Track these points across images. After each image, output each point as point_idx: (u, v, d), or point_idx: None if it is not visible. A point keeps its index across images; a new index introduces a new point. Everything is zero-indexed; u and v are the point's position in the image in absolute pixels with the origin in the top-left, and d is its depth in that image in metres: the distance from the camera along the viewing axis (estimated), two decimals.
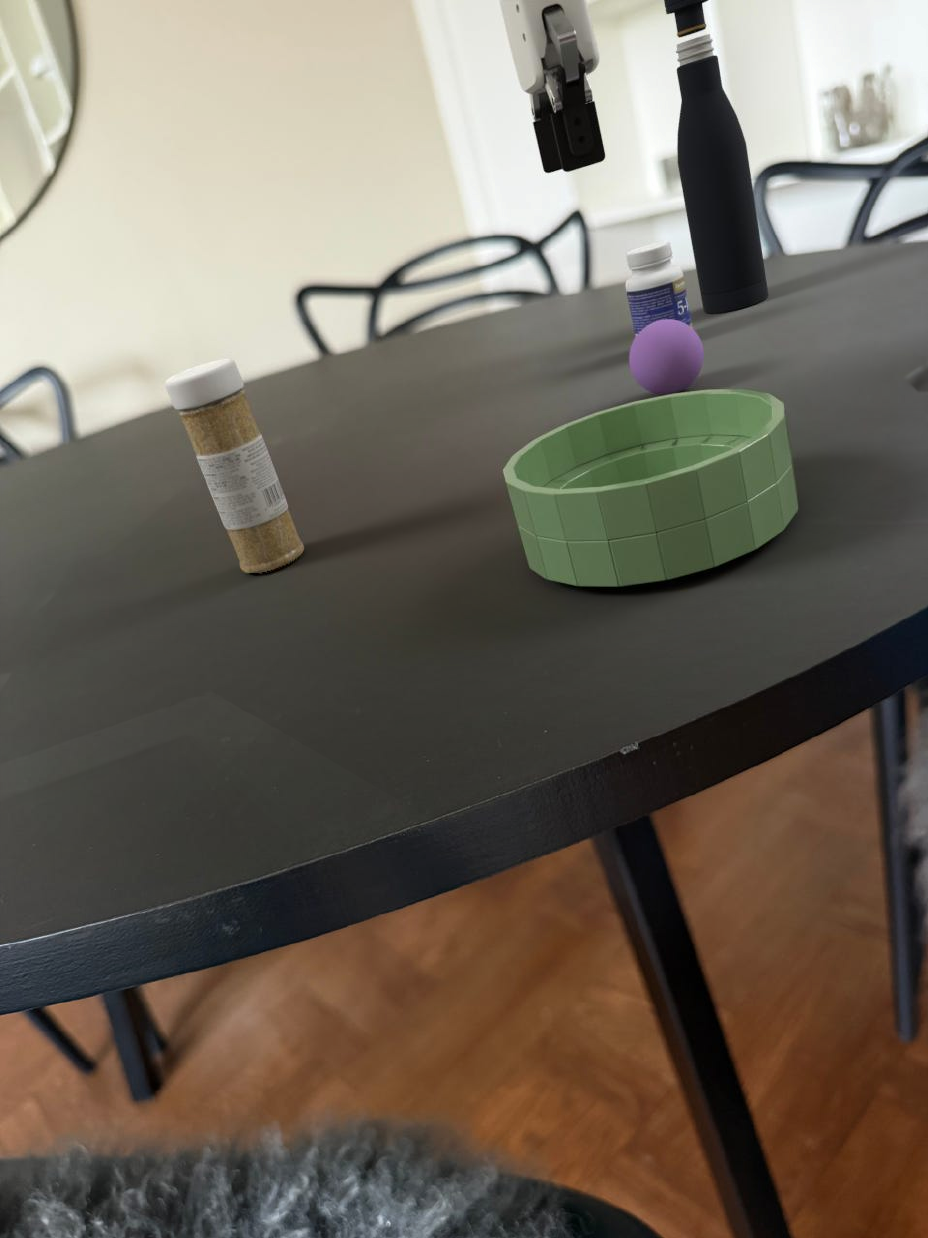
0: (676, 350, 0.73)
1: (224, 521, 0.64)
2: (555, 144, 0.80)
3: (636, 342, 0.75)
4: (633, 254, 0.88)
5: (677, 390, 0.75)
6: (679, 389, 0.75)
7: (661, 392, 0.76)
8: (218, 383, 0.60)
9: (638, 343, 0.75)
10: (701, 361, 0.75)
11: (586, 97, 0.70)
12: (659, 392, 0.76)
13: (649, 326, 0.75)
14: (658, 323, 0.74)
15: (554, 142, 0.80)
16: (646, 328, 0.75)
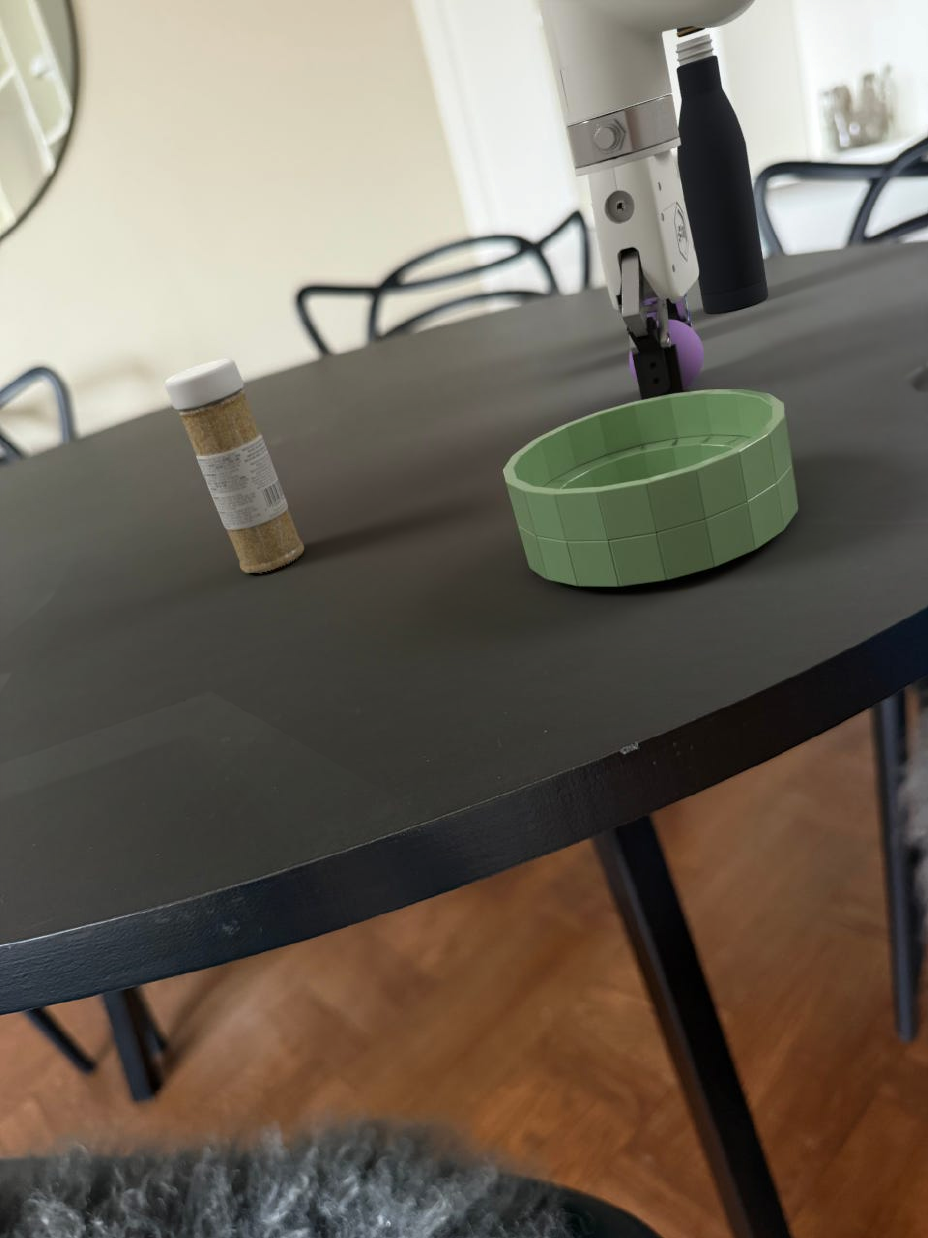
0: None
1: (224, 521, 0.64)
2: None
3: None
4: None
5: None
6: None
7: None
8: (218, 383, 0.60)
9: None
10: (701, 361, 0.75)
11: (663, 347, 0.71)
12: None
13: None
14: None
15: None
16: None
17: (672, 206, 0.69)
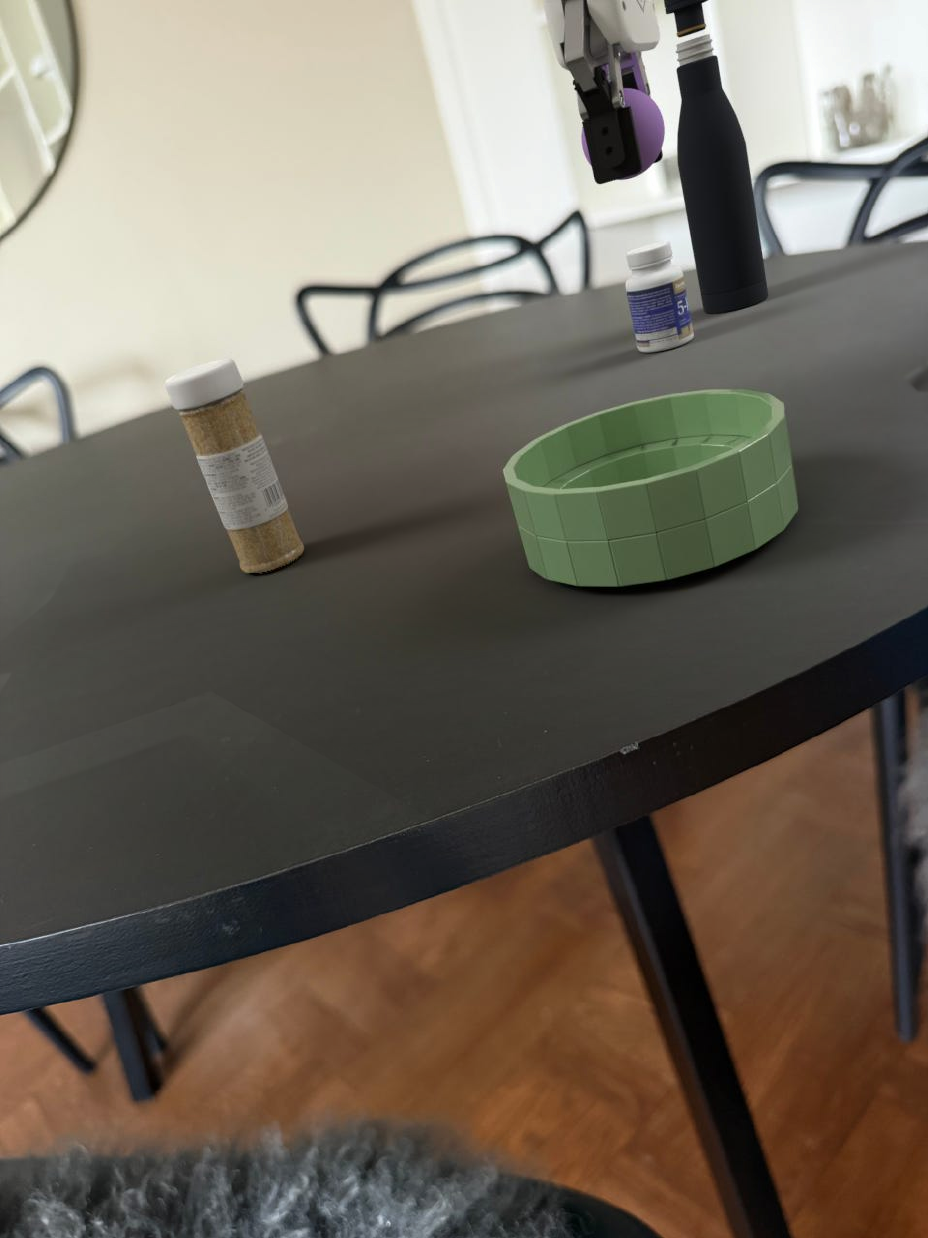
0: None
1: (224, 521, 0.64)
2: None
3: None
4: (633, 254, 0.88)
5: None
6: None
7: None
8: (218, 383, 0.60)
9: None
10: (661, 134, 0.66)
11: (615, 107, 0.63)
12: None
13: None
14: None
15: None
16: None
17: None
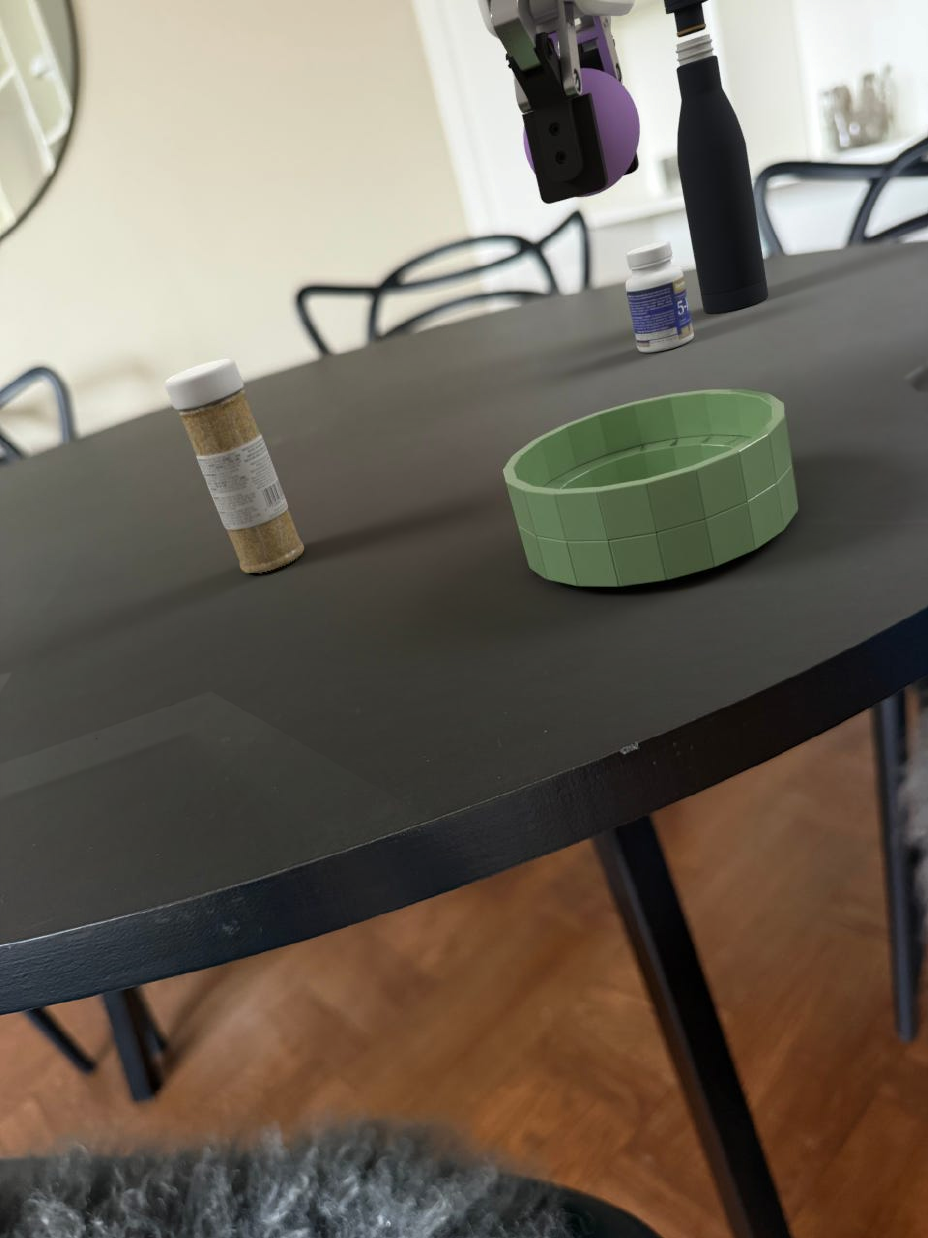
0: None
1: (224, 521, 0.64)
2: None
3: None
4: (633, 254, 0.88)
5: None
6: None
7: None
8: (218, 383, 0.60)
9: None
10: (635, 135, 0.47)
11: (568, 94, 0.43)
12: None
13: None
14: None
15: None
16: None
17: None
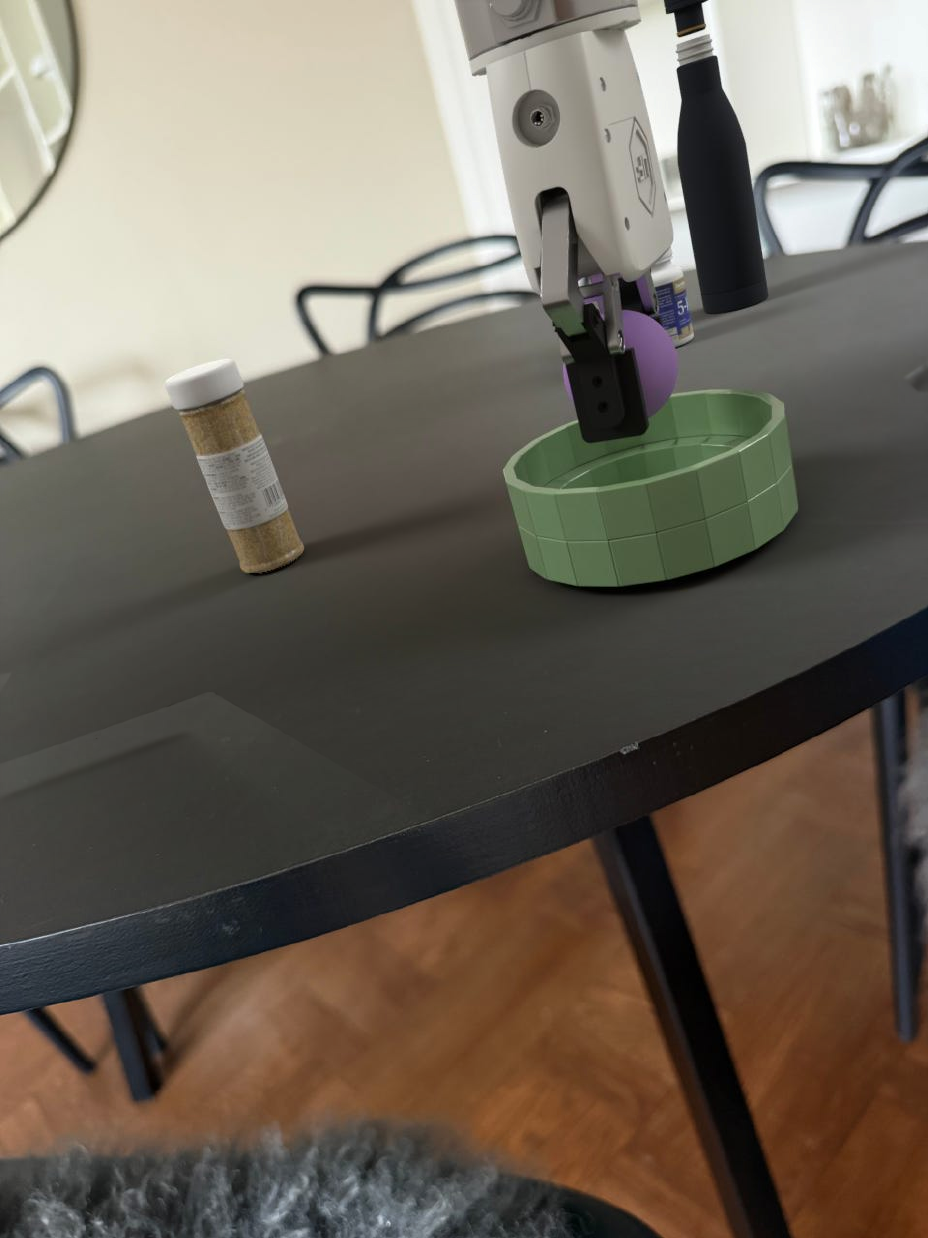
0: None
1: (224, 521, 0.64)
2: None
3: None
4: None
5: None
6: None
7: None
8: (218, 383, 0.60)
9: None
10: (674, 376, 0.48)
11: (612, 353, 0.44)
12: None
13: None
14: None
15: None
16: None
17: (626, 122, 0.42)
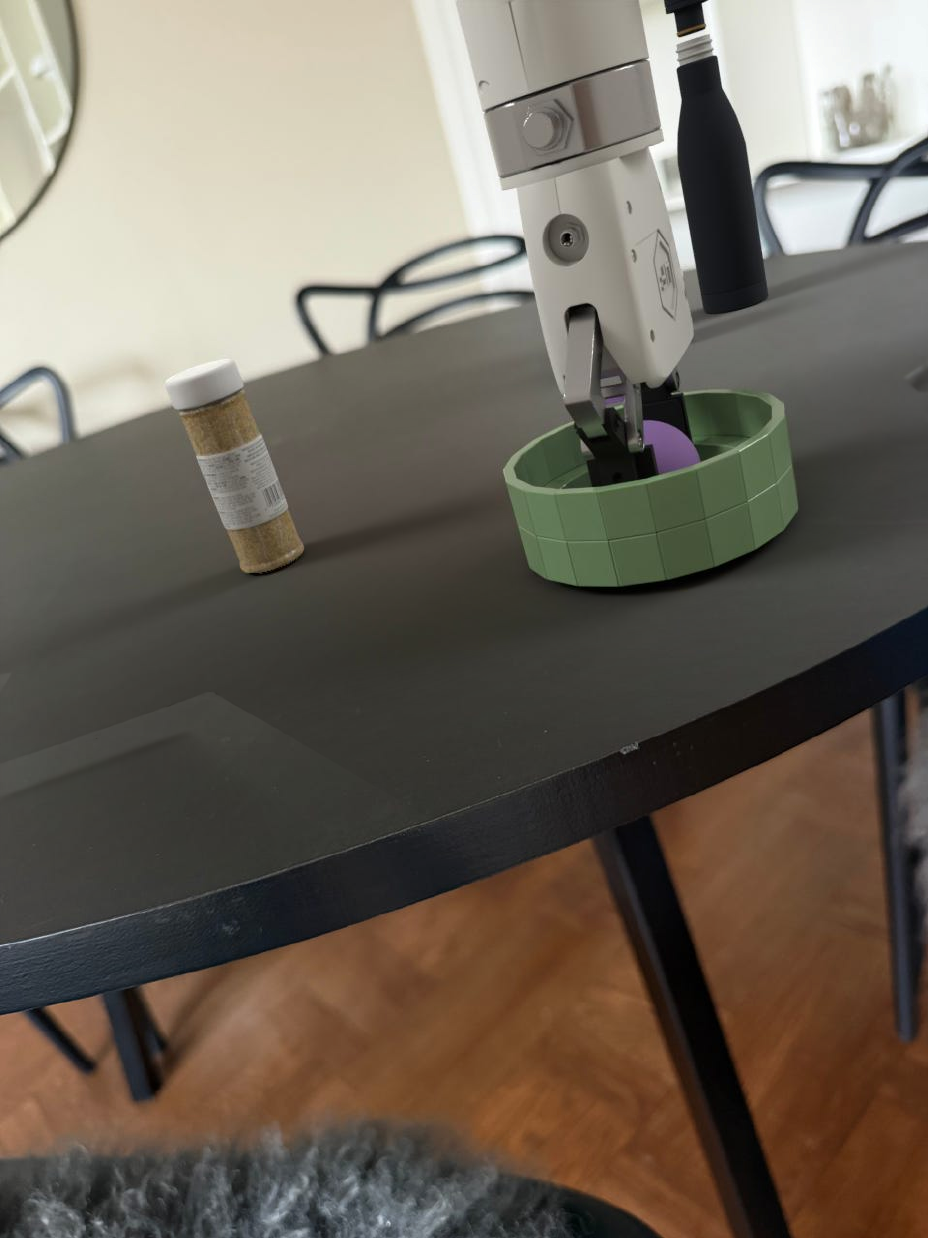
0: (659, 471, 0.48)
1: (224, 521, 0.64)
2: None
3: None
4: None
5: None
6: None
7: None
8: (218, 383, 0.60)
9: None
10: None
11: (631, 451, 0.45)
12: None
13: None
14: None
15: None
16: None
17: (650, 237, 0.44)
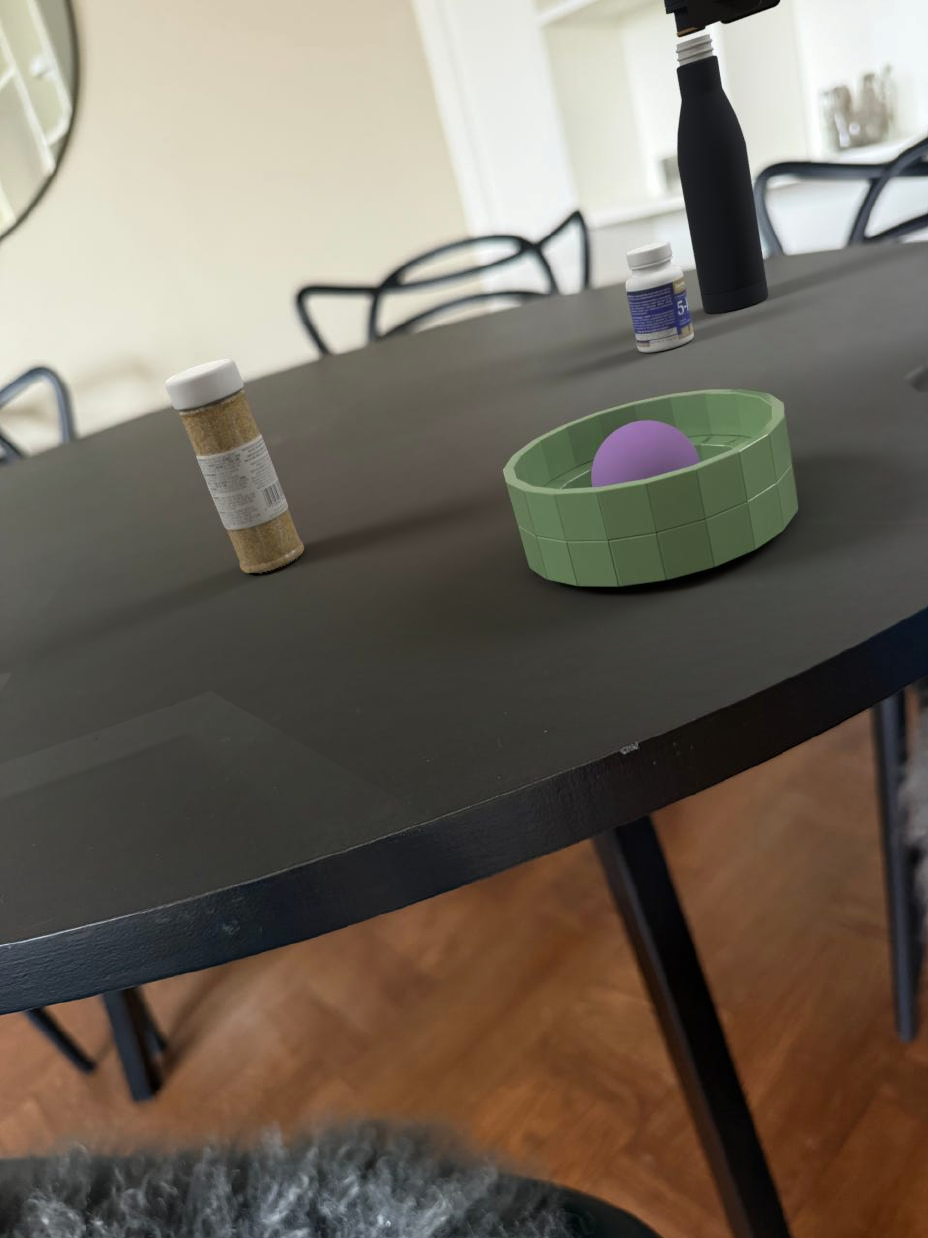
0: (659, 471, 0.48)
1: (224, 521, 0.64)
2: None
3: (600, 455, 0.50)
4: (633, 254, 0.88)
5: None
6: None
7: None
8: (218, 383, 0.60)
9: (603, 458, 0.50)
10: None
11: None
12: None
13: (620, 432, 0.50)
14: (633, 428, 0.50)
15: None
16: (615, 435, 0.50)
17: None
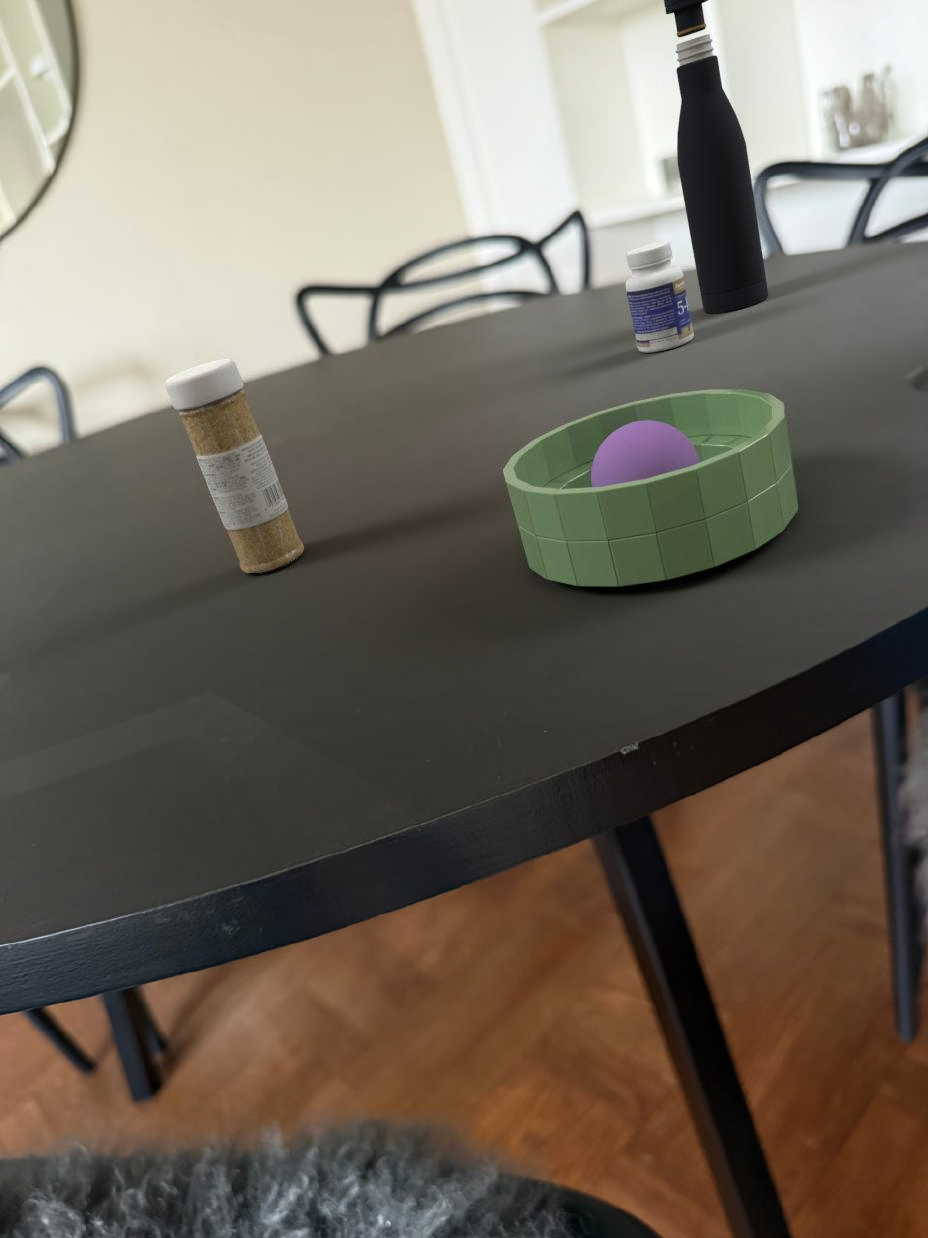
0: (659, 470, 0.48)
1: (224, 521, 0.64)
2: None
3: (600, 455, 0.50)
4: (633, 254, 0.88)
5: None
6: None
7: None
8: (218, 383, 0.60)
9: (603, 458, 0.50)
10: None
11: None
12: None
13: (619, 432, 0.50)
14: (632, 428, 0.50)
15: None
16: (615, 435, 0.50)
17: None
